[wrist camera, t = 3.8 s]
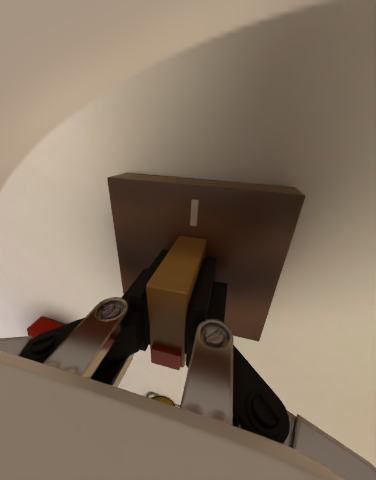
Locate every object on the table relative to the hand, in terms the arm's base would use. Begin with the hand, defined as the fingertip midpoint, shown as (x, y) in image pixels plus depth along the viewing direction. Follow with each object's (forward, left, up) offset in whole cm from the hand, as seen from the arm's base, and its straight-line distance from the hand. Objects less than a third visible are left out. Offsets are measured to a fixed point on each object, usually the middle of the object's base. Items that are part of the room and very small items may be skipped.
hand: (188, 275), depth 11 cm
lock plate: (0, 0, -3) cm, 3 cm away
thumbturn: (0, 0, -1) cm, 1 cm away
